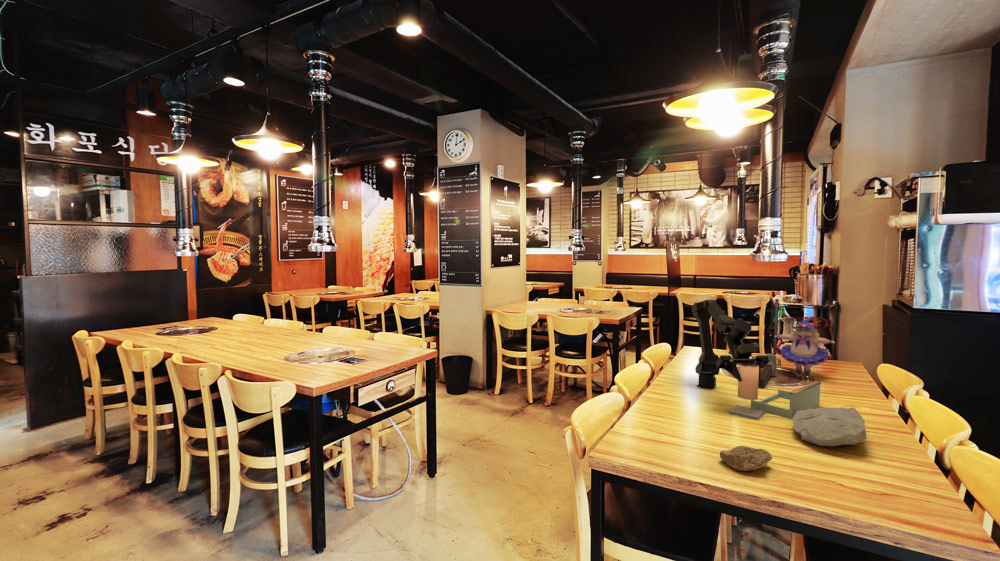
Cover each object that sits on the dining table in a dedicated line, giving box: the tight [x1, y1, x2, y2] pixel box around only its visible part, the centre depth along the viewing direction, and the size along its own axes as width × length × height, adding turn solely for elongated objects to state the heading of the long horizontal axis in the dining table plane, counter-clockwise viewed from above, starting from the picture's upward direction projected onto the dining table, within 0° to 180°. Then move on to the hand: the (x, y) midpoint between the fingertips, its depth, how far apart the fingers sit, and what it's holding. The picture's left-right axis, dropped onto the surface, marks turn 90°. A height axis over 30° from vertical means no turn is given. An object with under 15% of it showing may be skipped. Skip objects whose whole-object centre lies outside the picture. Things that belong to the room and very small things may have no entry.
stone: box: [792, 407, 868, 447], centre depth 155 cm, size 33×9×20 cm
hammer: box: [758, 353, 778, 389], centre depth 220 cm, size 5×11×30 cm
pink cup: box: [737, 363, 759, 401], centre depth 176 cm, size 7×7×12 cm
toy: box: [774, 317, 836, 377], centre depth 227 cm, size 25×21×30 cm
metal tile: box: [728, 404, 766, 421], centre depth 176 cm, size 10×10×1 cm
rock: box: [719, 445, 773, 472], centre depth 133 cm, size 13×11×5 cm
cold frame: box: [750, 380, 822, 420], centre depth 184 cm, size 15×25×10 cm, turn 126°
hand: (750, 381), depth 174 cm, fingers closed on pink cup, 7 cm apart
